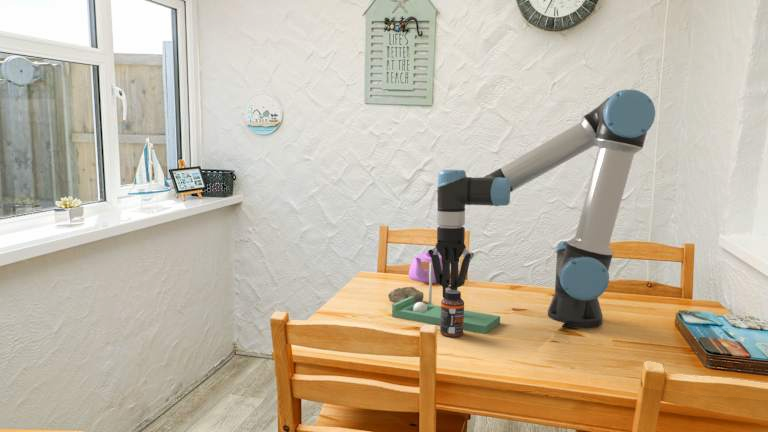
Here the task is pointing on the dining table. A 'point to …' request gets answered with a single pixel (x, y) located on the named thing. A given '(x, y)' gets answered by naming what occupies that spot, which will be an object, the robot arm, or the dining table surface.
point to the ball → (420, 307)
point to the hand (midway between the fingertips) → (449, 310)
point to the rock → (405, 294)
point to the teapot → (419, 273)
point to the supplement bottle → (452, 314)
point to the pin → (429, 267)
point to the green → (433, 316)
